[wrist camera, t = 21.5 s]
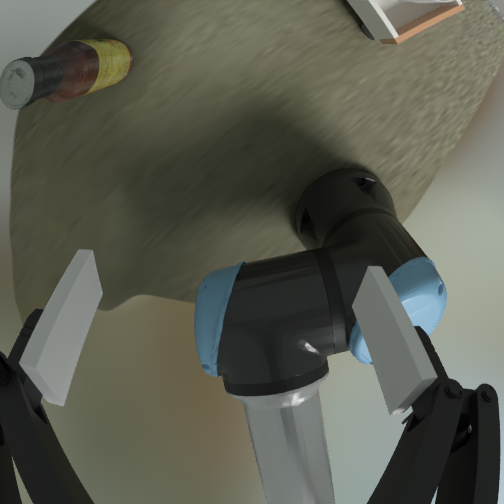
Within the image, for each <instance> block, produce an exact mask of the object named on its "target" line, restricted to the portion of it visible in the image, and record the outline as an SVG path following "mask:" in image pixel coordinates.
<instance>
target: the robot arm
mask: <svg viewBox="0 0 504 504" xmlns="http://www.w3.org/2000/svg"><path fill="white" fill-rule="evenodd" d="M296 227H297V231H298V234H299V237H300V239H301V242H302V244H303V245H304V247H305V248H306V250H307V251H302V252H297V253H292V254H288V255H283V256H278V257H273V258H269V259H264V260H259V261H254V262H249V263H246V262H240V263H239V264H238V265H235V266H231V267H228V268H224V269H220V270H216V271H213V272H211V273H210V274H208V275H207V276H206V277H205V278H204V280H203V281H202V283H201V285H200V287H199V291H198V295H197V298H196V305H195V317H194V318H195V319H194V321H195V322H194V328H195V340H196V348H197V353H198V357H199V360H200V362H201V363H202V367H203V370H204V371H205V372H206V373H207V374H208V375H212V376H215V377H219V376H222V378H223V382H224V386H225V390H226V393H227V394H228V395H229V396H231V397H233V398H235V399H236V400H238V401H240V402H241V403H242V404H243V407H244V412H245V416H246V420H247V425H248V429H249V433H250V437H251V441H252V445H253V450H254V454H255V458H256V462H257V466H258V470H259V473H260V477H261V481H262V485H263V489H264V493H265V496H266V500H267V504H335V498H334V490H333V483H332V476H331V468H330V461H329V455H328V447H327V441H326V434H325V427H324V421H323V415H322V408H321V403H320V396H319V390H318V389H319V387H320V385H321V384H322V382H323V381H324V380H325V378H326V377H327V376H328V374H329V367H328V361H327V356H329V355H332V354H336V353H340V352H345V351H349V350H350V351H351V353H352V354H353V356H355V357H356V358H357V360H359V361H360V362H362V363H364V364H368V363H370V364H372V365H374V368H375V371H376V374H377V377H378V380H379V383H380V386H381V389H382V392H383V395H384V398H385V401H386V405H387V408H388V411H389V414H390V415H393V414H398V413H403V412H405V411H406V410H407V409H408V408H409V407H410V406H412V409H413V412H412V413H411V414H410V415H409V416H408V417H407V418H405V419H404V421H403V422H402V424H404V423H405V422H407V424H406V426H405V429H404V431H403V433H402V436H401V438H400V440H399V442H398V445H397V447H396V449H395V451H394V453H393V456H392V457H391V460H390V462H389V464H388V466H387V468H386V470H385V471H384V473H383V475H382V477H381V479H380V481H379V483H378V485H377V487H376V488H375V490H374V492H373V494H372V496H371V497H370V499H369V501H368V503H367V504H431V502H432V499H433V497H434V494H435V492H436V490H437V495H436V501H435V504H497V502H498V492H499V479H500V477H499V476H500V420H499V405H498V396H497V393H496V391H495V390H494V388H493V387H492V386H491V385H489V384H481V385H480V386H479V387H478V388H477V389H476V390H472V389H464V388H462V386H461V385H460V384H459V383H458V382H457V381H456V380H453V379H449V378H448V376H447V374H446V372H445V369H444V367H443V366H442V363H441V361H440V359H439V357H438V355H437V353H436V352H435V348H434V346H433V345H432V344H431V340H430V338H429V335H430V334H431V332H432V331H433V330H434V329H435V327H436V326H437V324H438V323H439V321H440V319H441V317H442V315H443V313H444V310H445V307H446V301H447V293H446V288H445V285H444V282H443V281H442V279H441V277H440V275H439V274H438V272H437V270H436V268H435V265H434V263H433V262H432V261H431V260H430V259H429V258H428V257H427V256H426V255H425V254H424V252H423V251H422V249H421V248H420V247H419V246H418V244H417V243H416V242H415V240H414V239H413V238H412V237H411V236H410V234H409V233H408V232H407V231H406V229H405V228H404V227H403V226H402V224H401V223H400V222H399V221H398V219H397V215H396V211H395V207H394V203H393V200H392V197H391V195H390V193H389V191H388V190H387V189H386V187H385V186H384V185H383V184H382V183H381V182H380V181H379V180H378V179H377V178H376V177H375V176H373V175H372V174H370V173H368V172H366V171H363V170H359V169H339V170H335V171H332V172H330V173H327V174H325V175H323V176H322V177H320V178H318V179H317V180H316V181H315V182H313V183H312V184H311V185H310V186H309V187H308V188H307V190H306V191H305V192H304V194H303V195H302V197H301V199H300V201H299V204H298V207H297V211H296ZM102 295H103V292H102V288H101V284H100V280H99V276H98V272H97V267H96V263H95V259H94V254H93V250H85V249H79V250H78V251H77V253H76V254H75V256H74V258H73V259H72V261H71V263H70V264H69V266H68V268H67V269H66V271H65V273H64V274H63V276H62V278H61V280H60V281H59V283H58V285H57V287H56V288H55V290H54V292H53V294H52V296H51V298H50V299H49V301H48V303H47V305H46V307H45V309H44V310H42V309H35V310H34V311H33V312H32V313H31V314H30V315H29V316H28V318H27V320H26V322H25V324H24V326H23V328H22V330H21V332H20V335H19V336H18V338H17V340H16V342H15V344H14V346H13V348H12V350H11V352H10V355H9V357H8V359H7V358H6V356H5V355H4V354H3V353H2V352H0V504H22V501H21V498H20V494H19V490H18V486H17V481H16V477H15V472H14V467H13V461H12V457H13V460H14V462H15V465H16V467H17V469H18V472H19V474H20V477H21V479H22V481H23V483H24V485H25V488H26V490H27V492H28V494H29V496H30V498H31V500H32V502H33V503H34V504H94V502H93V501H92V499H91V498H90V496H89V495H88V493H87V491H86V490H85V488H84V487H83V485H82V483H81V482H80V480H79V478H78V476H77V475H76V473H75V471H74V470H73V468H72V466H71V464H70V463H69V460H68V459H67V457H66V455H65V453H64V451H63V449H62V447H61V445H60V443H59V441H58V439H57V437H56V435H55V433H54V431H53V428H52V426H51V424H50V422H49V419H48V417H47V415H46V413H45V410H44V408H43V405H42V404H41V399H42V395H43V397H44V398H45V399H46V400H47V402H49V403H53V404H56V405H61V406H64V403H65V400H66V396H67V393H68V390H69V386H70V383H71V380H72V377H73V374H74V370H75V368H76V364H77V362H78V359H79V356H80V353H81V350H82V347H83V344H84V341H85V339H86V336H87V333H88V331H89V328H90V325H91V323H92V320H93V317H94V315H95V312H96V310H97V307H98V305H99V302H100V300H101V297H102ZM11 455H12V456H11ZM437 487H438V489H437Z"/></svg>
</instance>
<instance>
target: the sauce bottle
mask: <svg viewBox="0 0 504 504" xmlns="http://www.w3.org/2000/svg"><path fill="white" fill-rule="evenodd" d="M132 65H133V55H132V51H131V49H130V48H129V47H128V46H127V45H126V44H124V43H122V42H120V41H117V40H107V39H97V40H96V39H93V40H92V39H89V40H69V41H64V42H61V43H59V44H57V45H55V46H54V47H53V48H52V49H50V50H49V51H48V52H46V53H45V54H44V55H42V56H40V57H35V58H31V57H24V58H20V59H17V60H14V61H12V62H11V63H9V64H8V65H7V66H6V67H5V69H4V70H3V73H2V75H1V78H0V98H1V100H2V102H3V103H4V104H5V105H6V106H7V107H8V108H10V109H20V108H23V107H26V106H28V105H30V104H32V103H33V102H34V101H35V100H37V99H40V98H46V99H47V100H49V101H50V102H64V101H68V100H71V99H73V98H78V97H81V96H83V95H86V94H89V93H91V92H94V91H97V90H100V89H103V88H106V87H108V86H112V85H114V84H116V83H118V82H120V81H122V80H123V79H124V78H125V77H126V76H127V75H128V73H129V71H130V70H131V68H132Z"/></svg>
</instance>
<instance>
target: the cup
mask: <svg viewBox="0 0 504 504" xmlns="http://www.w3.org/2000/svg"><path fill="white" fill-rule="evenodd" d="M398 1H405V2H415V3H440V2H452V1H454V0H398Z"/></svg>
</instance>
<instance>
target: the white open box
mask: <svg viewBox="0 0 504 504" xmlns="http://www.w3.org/2000/svg"><path fill="white" fill-rule="evenodd" d="M347 1H348V2H349V4H350V5H351V6H352V8H353V9H354V10H355V12H356V13H357V14H358V16H359V17H360V18H361V20H362V21H363V23H364V24H362V25H361V28H362V30H363V32H364V33H365V35H366V36H367V37H368V38H370V39H371V40H374V39H375V40H376V42H377V43H378V44H399V43H400V42H402V41H404V40H406V39H407V38H409V37H411V36H413V35H415V34H417V33H418V32H420V31H422V30H424V29H426V28H428V27H430V26H432V25H434V24H435V23H437V22H439V21H441V20H443V19H445V18H447V17H449V16H451V15H453V14H456V13H458V12H460V11H462V10H464V9H465V8H464V6H463V4H462V2H461V0H454V1H452V2H440V3H415V2H405V1H398V0H347Z"/></svg>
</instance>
